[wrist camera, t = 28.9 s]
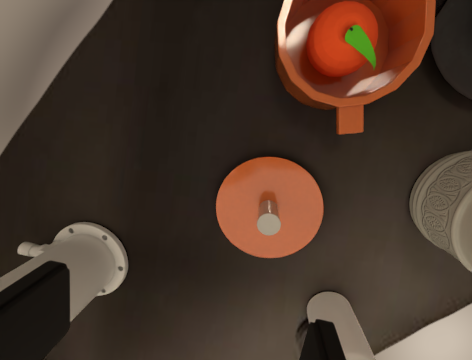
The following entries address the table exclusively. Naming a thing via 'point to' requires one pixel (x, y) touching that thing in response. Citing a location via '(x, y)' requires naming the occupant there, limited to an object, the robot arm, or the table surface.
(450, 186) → the jar
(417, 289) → the table surface
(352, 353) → the can
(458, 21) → the casserole
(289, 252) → the pot lid
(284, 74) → the pot
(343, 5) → the clementine
